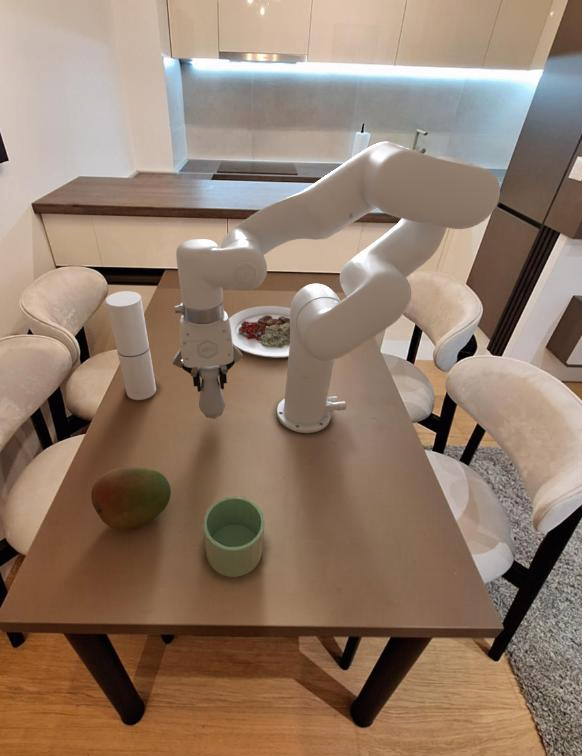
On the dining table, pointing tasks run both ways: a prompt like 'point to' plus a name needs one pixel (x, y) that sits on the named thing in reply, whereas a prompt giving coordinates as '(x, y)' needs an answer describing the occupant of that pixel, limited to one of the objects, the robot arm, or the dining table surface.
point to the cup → (234, 536)
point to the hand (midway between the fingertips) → (210, 385)
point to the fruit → (130, 497)
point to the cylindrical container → (132, 343)
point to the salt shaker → (211, 392)
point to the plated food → (262, 331)
